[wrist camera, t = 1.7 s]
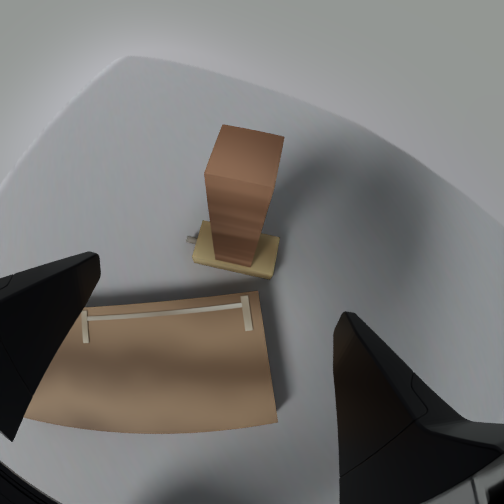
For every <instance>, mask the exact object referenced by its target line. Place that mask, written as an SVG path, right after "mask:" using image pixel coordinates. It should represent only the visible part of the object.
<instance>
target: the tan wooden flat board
mask: <svg viewBox="0 0 504 504" xmlns="http://www.w3.org/2000/svg"><path fill="white" fill-rule="evenodd" d="M24 418H28V419H32V420H37V421H41V422H46V423H51V424H56V425H61V426H67V427H74V428H81V429H88V430H97V431H107V432H121V433H143V434H174V433H197V432H210V431H221V430H231V429H239V428H246V427H253V426H259V425H265V424H271V423H277V422H278V419H277V412H276V406H275V399H274V393H273V386H272V380H271V373H270V366H269V360H268V353H267V347H266V340H265V334H264V327H263V320H262V314H261V307H260V301H259V294H258V291H252V292H244V293H236V294H228V295H219V296H210V297H201V298H192V299H183V300H173V301H162V302H151V303H140V304H128V305H115V306H101V307H85V308H84V309H83V310H82V312H81V314H80V315H79V317H78V318H77V320H76V321H75V323H74V325H73V326H72V328H71V329H70V331H69V333H68V334H67V336H66V338H65V339H64V341H63V343H62V344H61V346H60V348H59V349H58V351H57V353H56V354H55V356H54V358H53V360H52V362H51V363H50V365H49V367H48V369H47V371H46V372H45V374H44V376H43V378H42V380H41V382H40V384H39V386H38V388H37V390H36V392H35V394H34V395H33V398H32V400H31V402H30V404H29V406H28V408H27V410H26V413H25V415H24Z"/></svg>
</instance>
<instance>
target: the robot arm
mask: <svg viewBox="0 0 504 504" xmlns="http://www.w3.org/2000/svg"><path fill="white" fill-rule="evenodd" d="M100 275H101V270H100V258H99V255H98V254H97V253H93V252H85V253H81V254H78V255H74V256H71V257H68V258H64V259H61V260H57V261H54V262H51V263H47V264H44V265H41V266H38V267H34V268H31V269H28V270H25V271H22V272H19V273H16V274H14V275H13V274H12V275H9V276H6V277H3V278H0V433H1V434H3V435H4V436H5V437H6V438H7V439H9V440H10V441H11V442H13V440H14V438H15V436H16V433H17V431H18V428H19V426H20V424H21V422H22V419H23V417H24V415H25V413H26V410H27V408H28V406H29V404H30V402H31V400H32V398H33V395H34V394H35V392H36V390H37V388H38V386H39V384H40V382H41V380H42V378H43V376H44V374H45V372H46V371H47V369H48V367H49V365H50V363H51V362H52V360H53V358H54V356H55V354H56V353H57V351H58V349H59V348H60V346H61V344H62V343H63V341H64V339H65V338H66V336H67V334H68V333H69V331H70V329H71V328H72V326H73V325H74V323H75V321H76V320H77V318H78V317H79V315H80V314H81V312H82V310H83V309H84V307H85V305H86V303H87V301H88V299H89V298H90V296H91V294H92V292H93V290H94V288H95V286H96V284H97V283H98V281H99V279H100ZM333 374H334V385H335V397H336V410H337V425H338V444H339V474H340V478H339V484H340V504H504V424H496V423H482V422H473V421H470V420H467V419H465V418H463V417H462V416H461V415H459V414H458V413H457V412H456V411H455V410H454V409H453V408H452V407H450V406H449V405H448V404H447V403H446V402H445V401H444V400H443V399H441V398H440V397H439V396H438V395H437V394H436V393H435V392H434V391H433V390H432V389H430V388H429V387H428V386H427V385H426V384H425V383H424V382H423V381H422V380H421V379H420V378H419V377H418V376H417V375H416V374H415V373H414V372H413V371H412V370H411V368H410V367H409V366H408V365H407V364H406V363H405V362H404V361H403V360H402V359H401V358H400V357H399V356H398V355H397V354H396V353H395V352H394V351H393V350H392V349H391V348H390V347H389V346H388V345H387V344H386V343H385V342H384V341H383V340H382V339H381V338H380V337H379V336H378V335H377V334H376V333H375V332H374V331H373V330H372V329H371V328H370V327H369V326H368V325H367V324H366V323H364V322H363V321H362V320H361V319H360V318H359V317H358V316H357V315H356V314H355V313H352V312H346V311H345V312H343V313H342V315H341V317H340V319H339V321H338V323H337V325H336V327H335V330H334V335H333ZM0 504H62V503H60V502H58V501H56V500H55V499H53V498H52V497H50V496H48V495H47V494H45V493H44V492H42V491H40V490H39V489H37V488H36V487H34V486H33V485H32V484H30V483H29V482H27V481H26V480H25V479H23V478H22V477H20V476H19V475H18V474H16V473H15V472H14V471H13V470H11V469H10V468H9V467H8V466H6V465H5V464H4V463H3V462H1V461H0Z"/></svg>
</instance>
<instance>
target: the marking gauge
mask: <svg viewBox="0 0 504 504" xmlns="http://www.w3.org/2000/svg"><path fill="white" fill-rule="evenodd" d="M283 142H284V137H283V136H279V135H274V134H270V133H265V132H260V131H255V130H250V129H245V128H240V127H234V126H229V125H222V127H221V130H220V132H219V135H218V138H217V140H216V143H215V145H214V148H213V151H212V153H211V156H210V159H209V162H208V164H207V167H206V170H205V173H204V176H205V185H206V193H207V201H208V209H209V217H210V222H208V221H202V225H201V228H200V231H199V235H198V238H195V237H191V236H187V240H186V242H188V243H192V244H196V245H195V249H194V252H193V256H192V258H193V260H194V263H198V264H202V265H206V266H211V267H215V268H219V269H224V270H228V271H233V272H237V273H242V274H246V275H251V276H255V277H260V278H264V279H269V280H270V279H271V277H272V276H273V272H274V266H275V261H276V256H277V250H278V245H279V239H280V237H276V236H271V235H267V234H262V233H261V231H262V227H263V224H264V221H265V217H266V214H267V211H268V208H269V204H270V201H271V198H272V194H273V191H274V187H275V182H276V177H277V172H278V167H279V162H280V157H281V152H282V147H283Z"/></svg>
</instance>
